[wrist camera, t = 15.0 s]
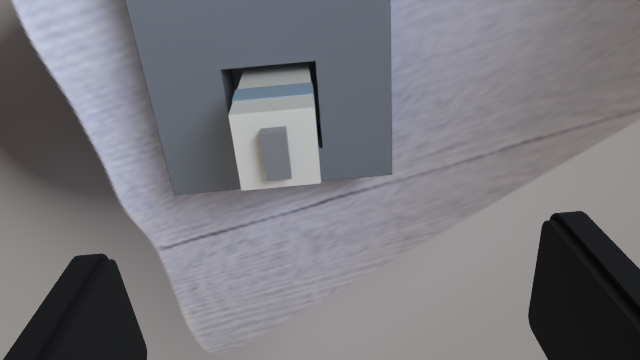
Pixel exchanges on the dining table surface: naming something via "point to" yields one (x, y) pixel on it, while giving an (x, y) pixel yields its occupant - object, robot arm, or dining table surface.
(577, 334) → the robot arm
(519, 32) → the dining table surface
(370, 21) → the panel
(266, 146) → the plug
